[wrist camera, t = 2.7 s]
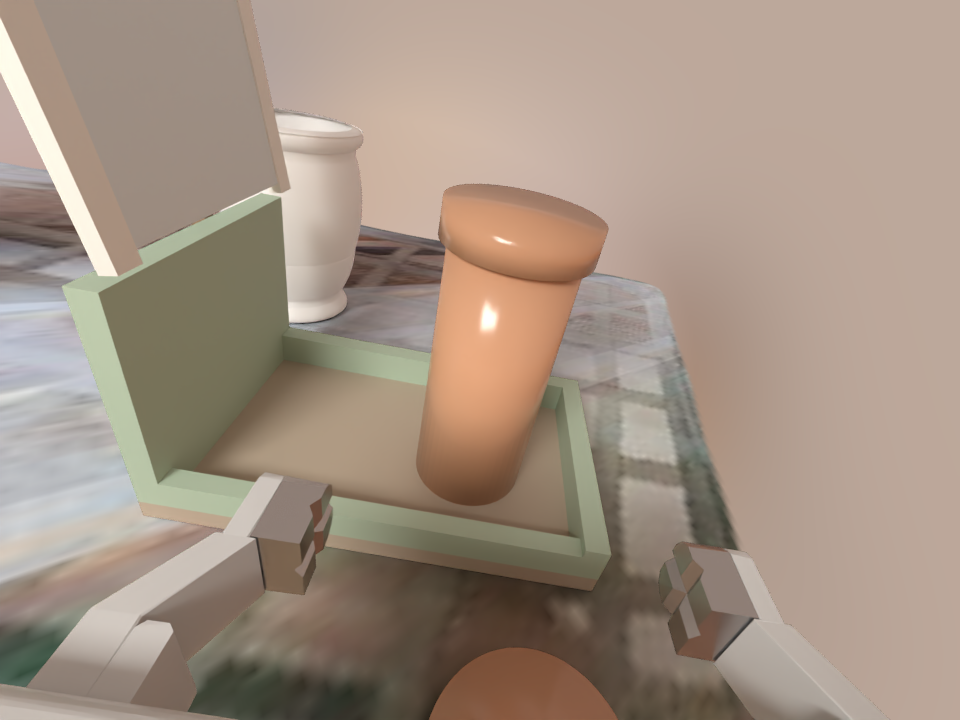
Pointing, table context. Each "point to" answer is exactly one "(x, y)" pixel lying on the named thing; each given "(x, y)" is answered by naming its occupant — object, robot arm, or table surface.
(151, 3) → the lid
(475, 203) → the orange-brown capped cylinder
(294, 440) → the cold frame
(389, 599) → the table surface
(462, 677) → the terracotta round disc
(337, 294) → the jar
